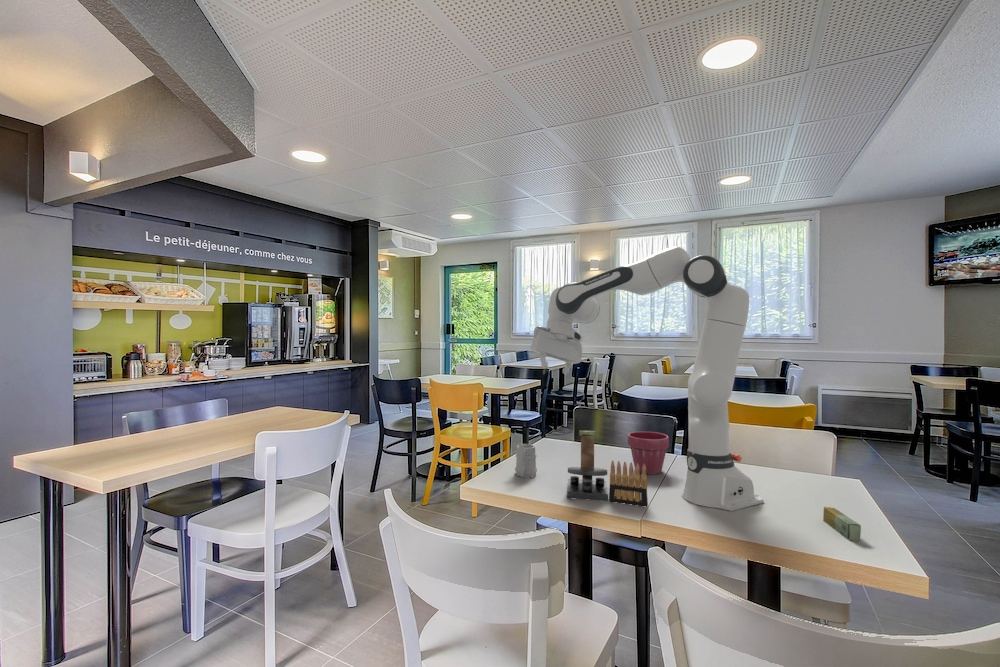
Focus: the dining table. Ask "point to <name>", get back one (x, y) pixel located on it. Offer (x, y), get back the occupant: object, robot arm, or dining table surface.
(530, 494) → the dining table surface
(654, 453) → the plant pot
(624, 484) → the ammunition clip
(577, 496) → the stand
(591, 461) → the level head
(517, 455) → the mug
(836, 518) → the medication box
